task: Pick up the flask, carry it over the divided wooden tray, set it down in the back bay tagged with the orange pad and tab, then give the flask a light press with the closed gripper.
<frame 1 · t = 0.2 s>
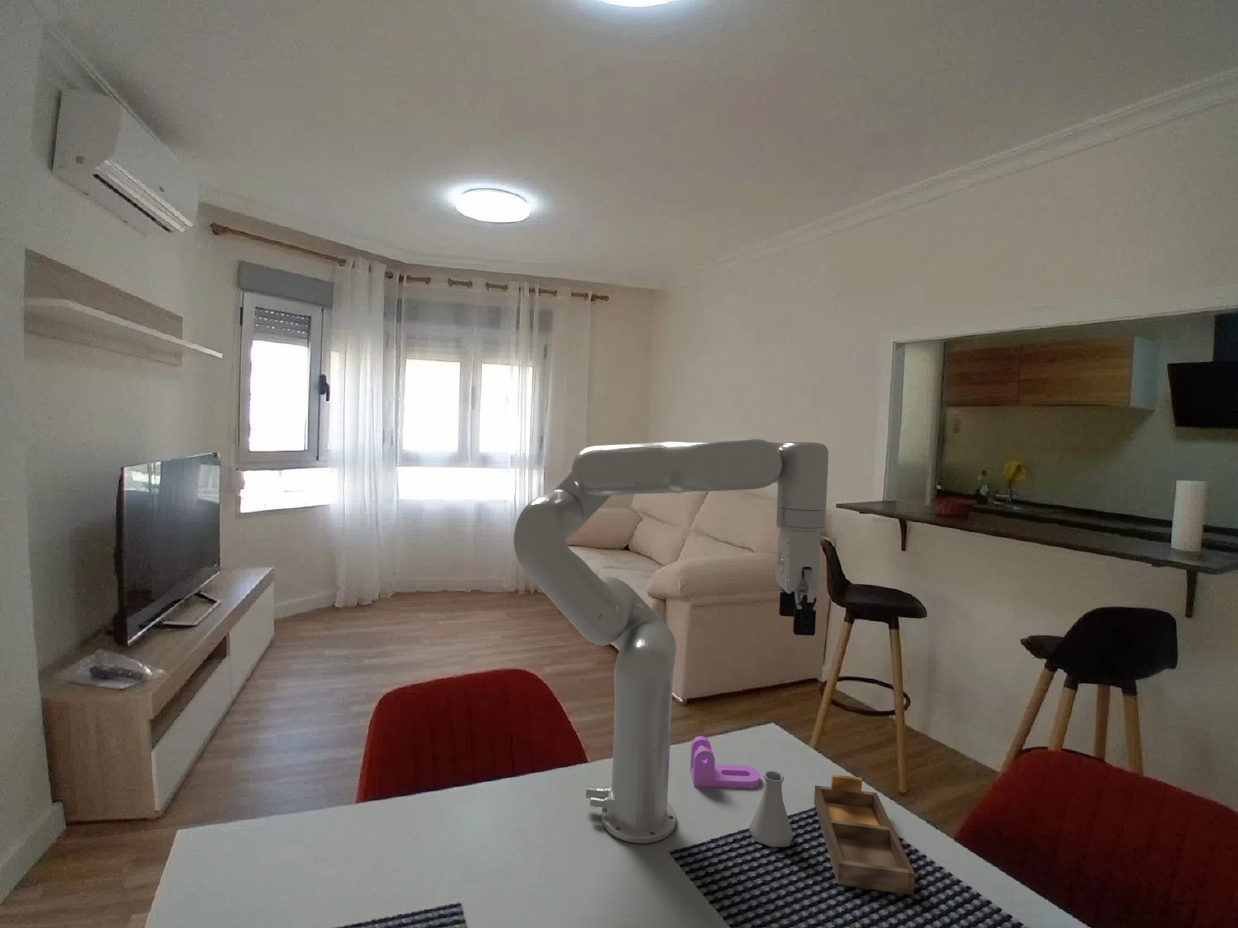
hand: (795, 624, 97), 36 cm above the table, tool pointing down, fingers open, 9 cm apart
divided wooden tray: (858, 843, 99), on the table
flask: (770, 835, 100), on the table
bracket: (725, 780, 116), on the table
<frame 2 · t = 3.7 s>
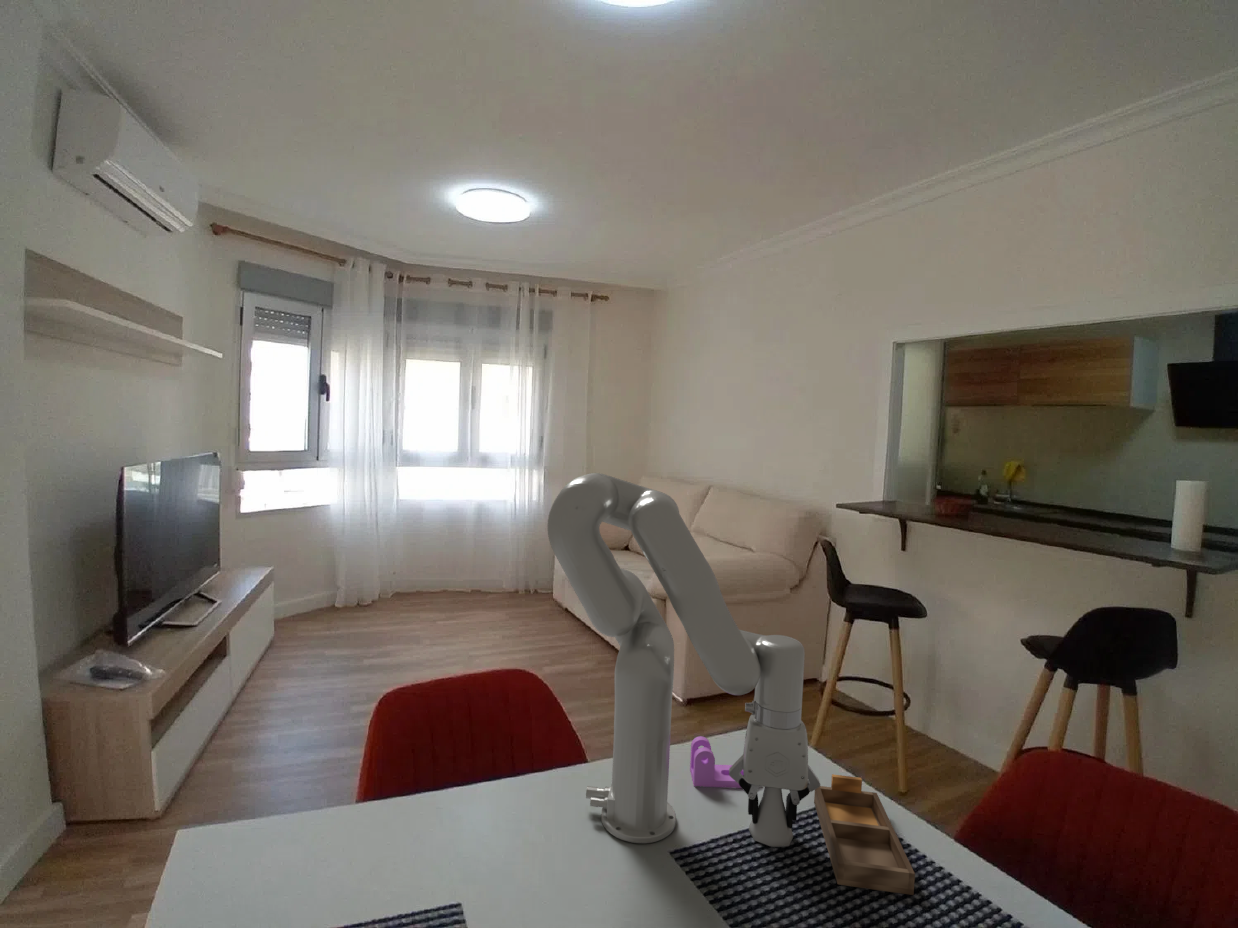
hand: (771, 819, 100), 2 cm above the table, tool pointing down, fingers closed on flask, 4 cm apart
flask: (770, 835, 100), on the table, touching gripper
everything else where it was.
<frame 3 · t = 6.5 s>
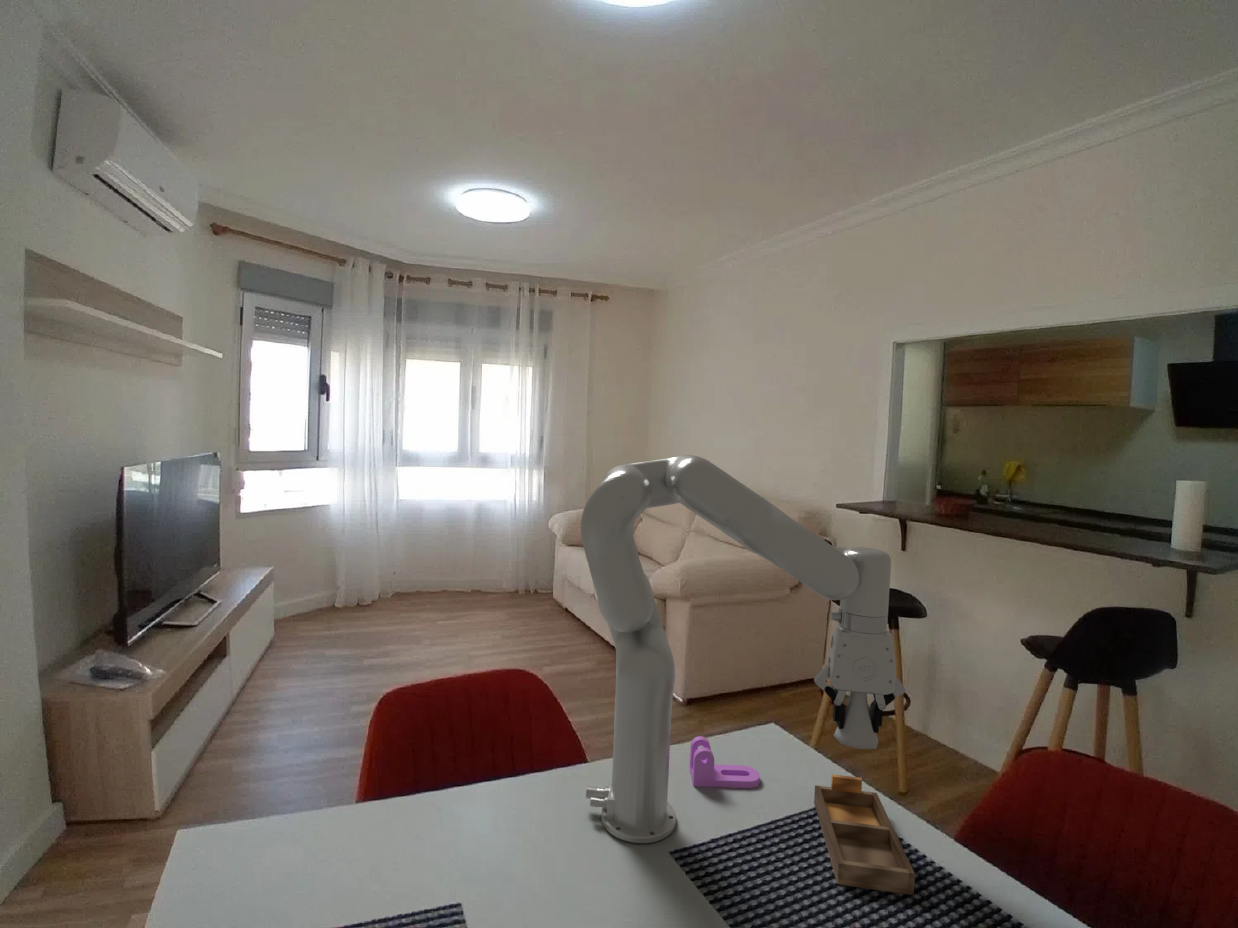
hand: (856, 726, 103), 17 cm above the table, tool pointing down, fingers closed on flask, 4 cm apart
flask: (855, 741, 103), point 15 cm above the table, touching gripper
everything else where it was.
when the fingers open (5 cm above the table, at t = 9.5 s): flask drops 2 cm, resting on divided wooden tray.
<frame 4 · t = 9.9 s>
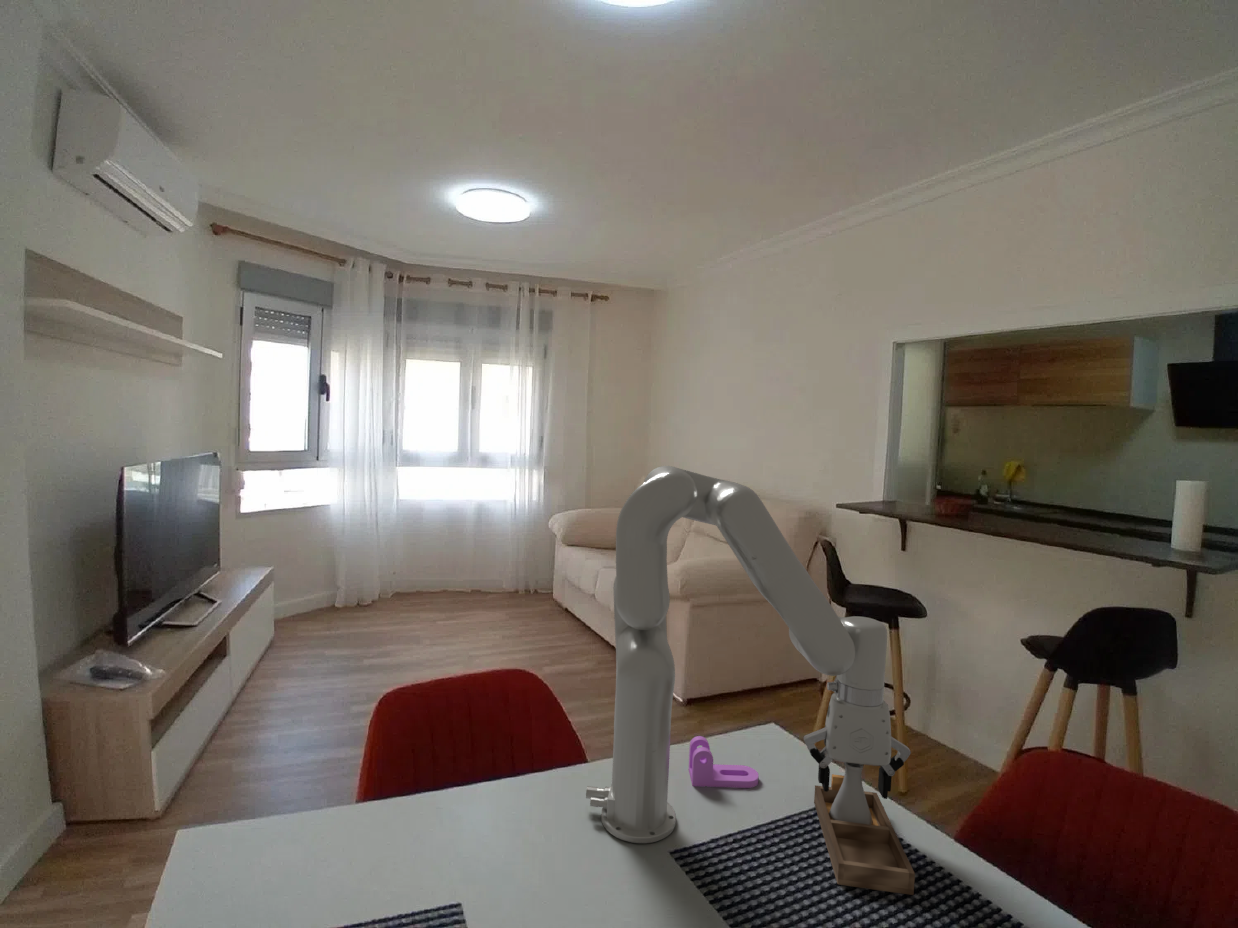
hand: (853, 790, 103), 6 cm above the table, tool pointing down, fingers open, 9 cm apart
flask: (850, 820, 103), point 1 cm above the table, touching divided wooden tray
everything else where it was.
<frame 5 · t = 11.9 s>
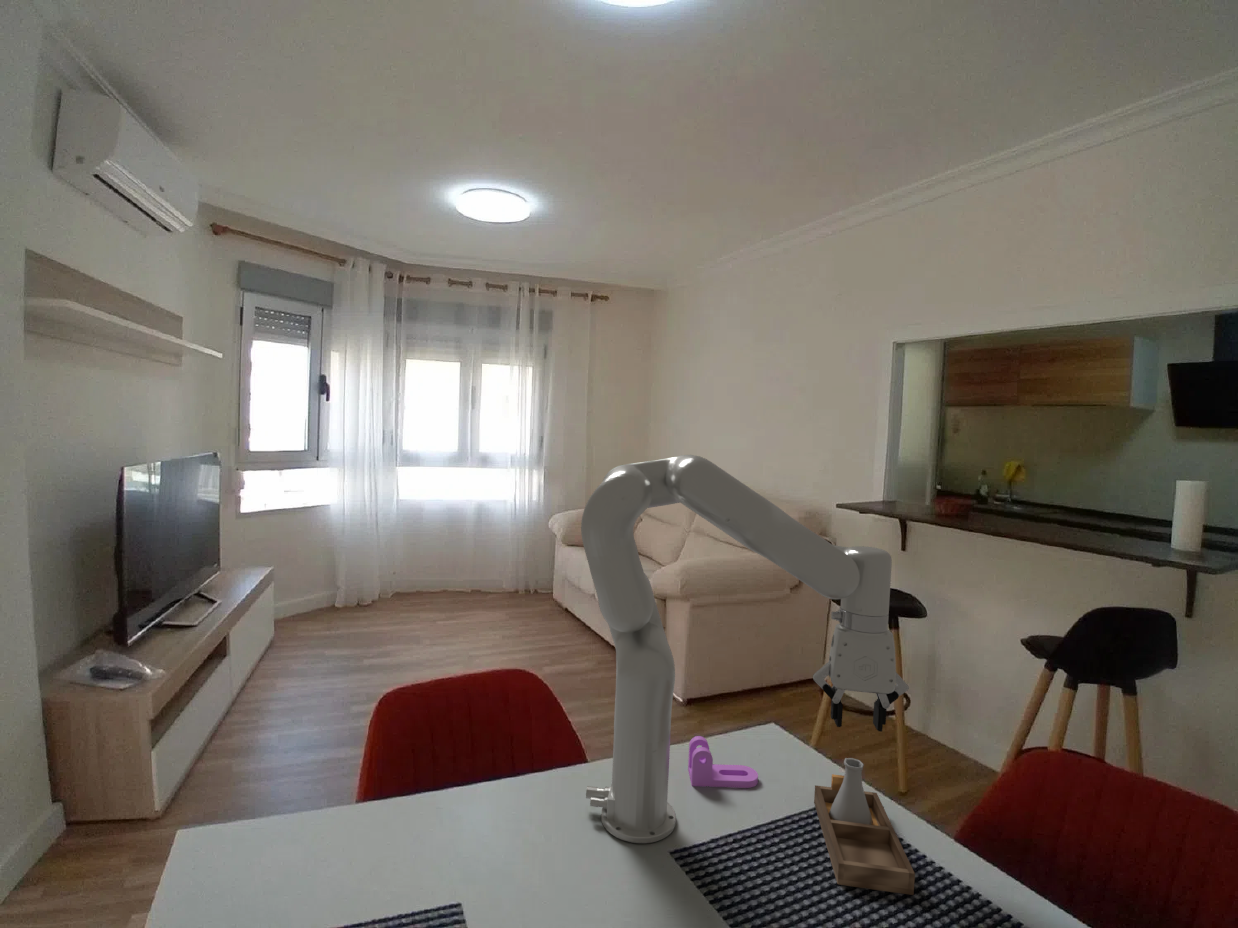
hand: (857, 724, 103), 18 cm above the table, tool pointing down, fingers open, 5 cm apart
nothing on the table moved.
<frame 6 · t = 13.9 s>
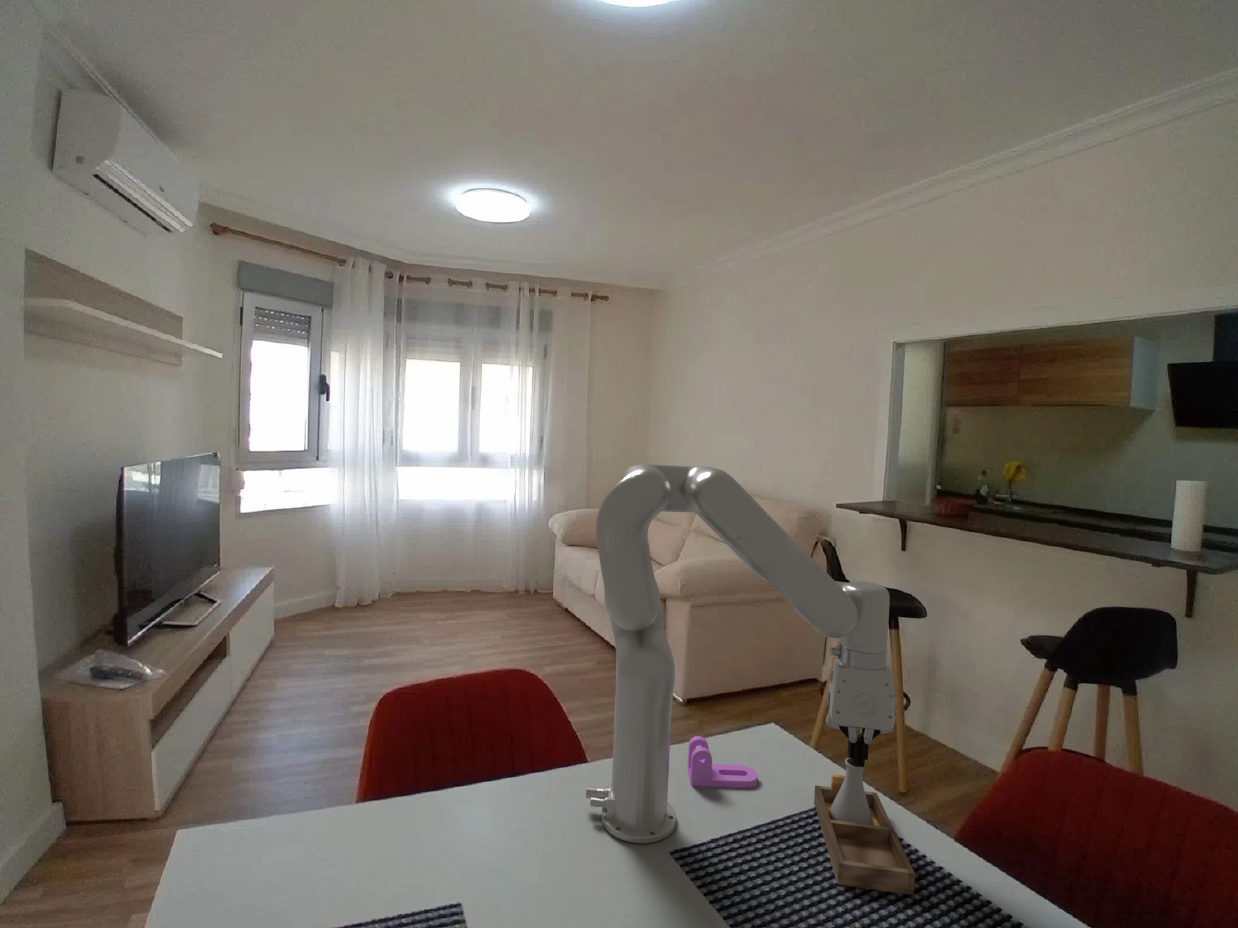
hand: (857, 762, 103), 11 cm above the table, tool pointing down, fingers closed
flask: (850, 820, 103), point 1 cm above the table, touching gripper, divided wooden tray
everything else where it was.
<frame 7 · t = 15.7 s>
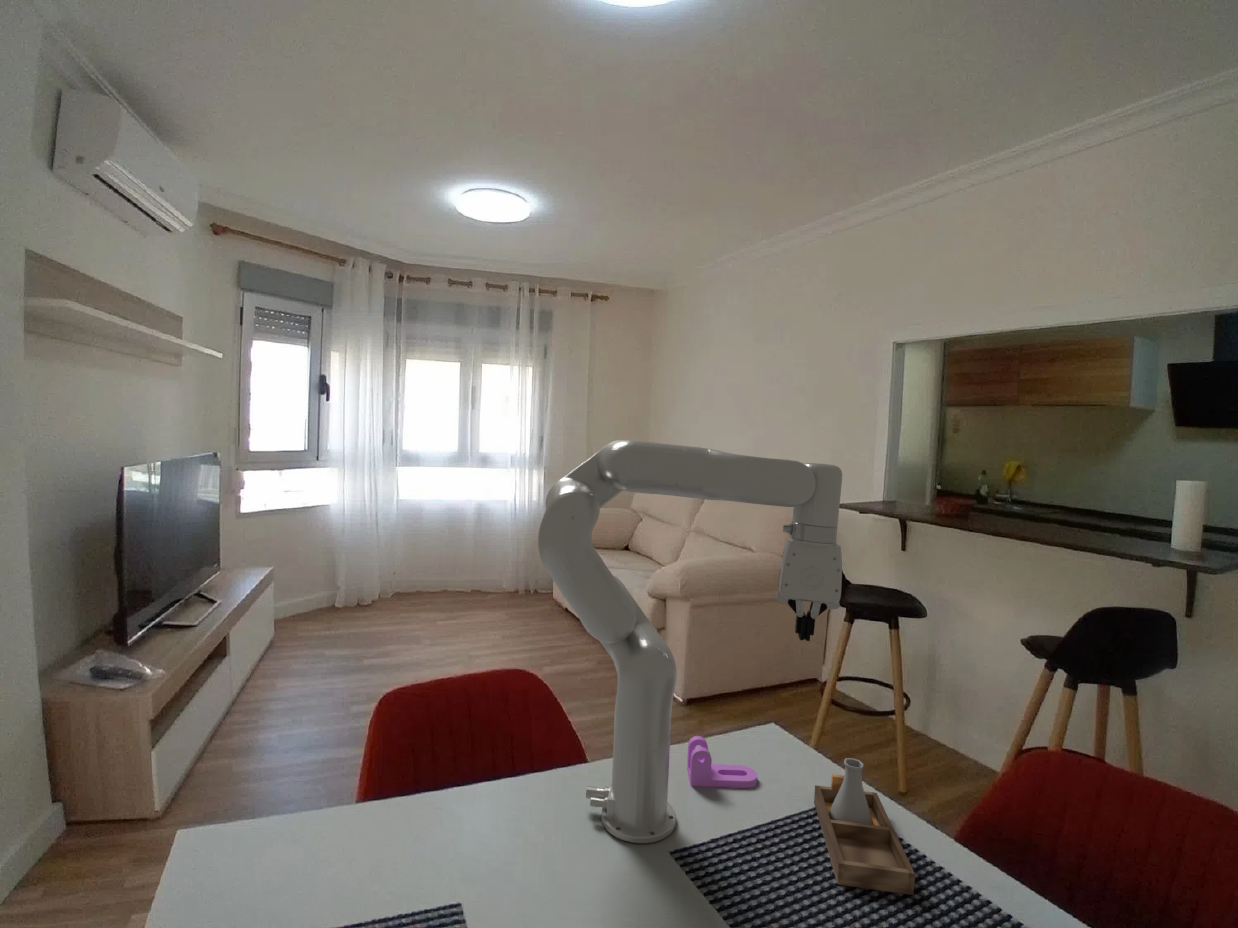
hand: (803, 638, 106), 31 cm above the table, tool pointing down, fingers closed
flask: (850, 820, 103), point 1 cm above the table, touching divided wooden tray
everything else where it was.
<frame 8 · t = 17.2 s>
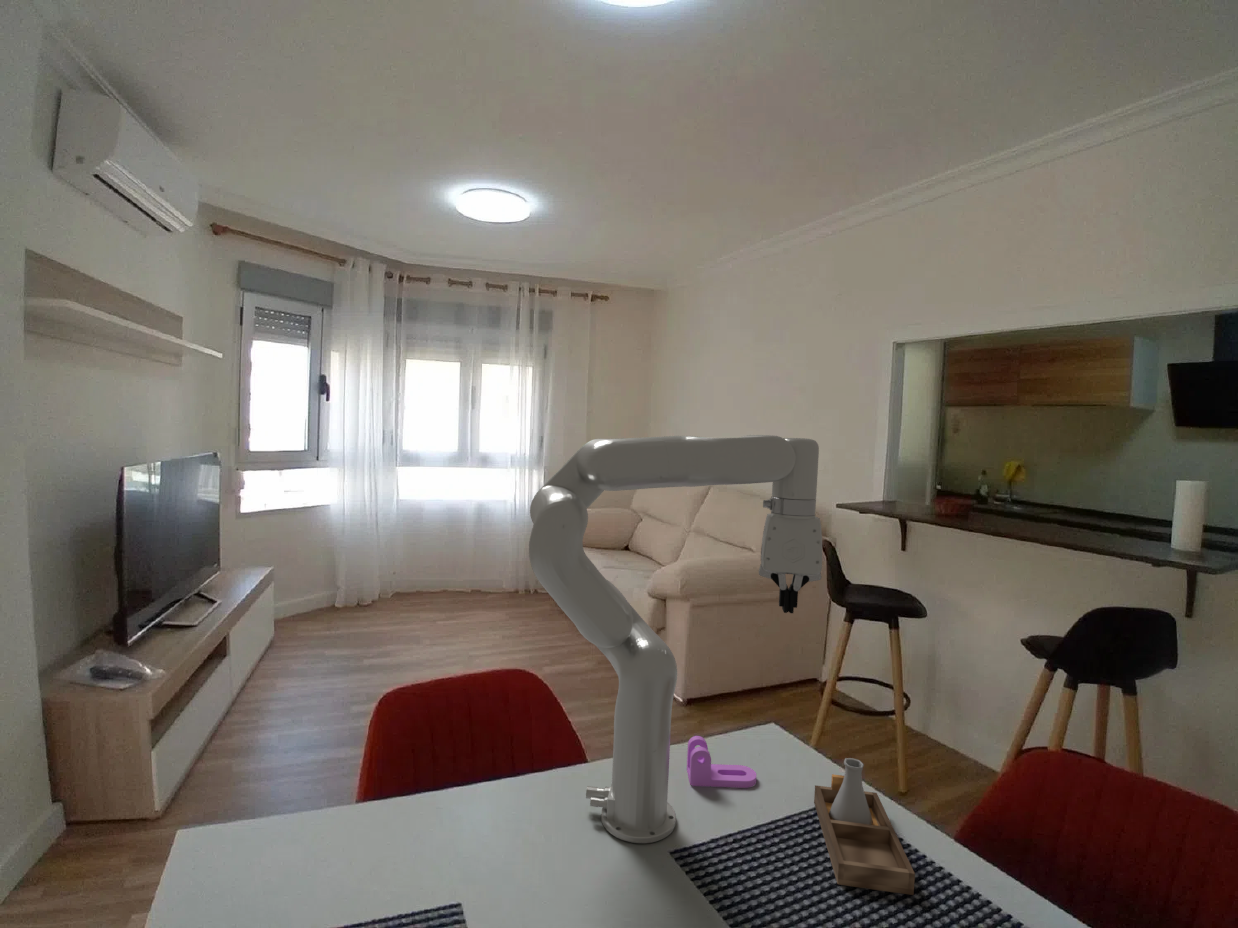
hand: (787, 610, 107), 35 cm above the table, tool pointing down, fingers closed
nothing on the table moved.
at the end: flask 0.2 cm from the target spot on the divided wooden tray, point 0.7 cm above the divided wooden tray's base; flask tilted 0°; the gripper is holding nothing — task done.
